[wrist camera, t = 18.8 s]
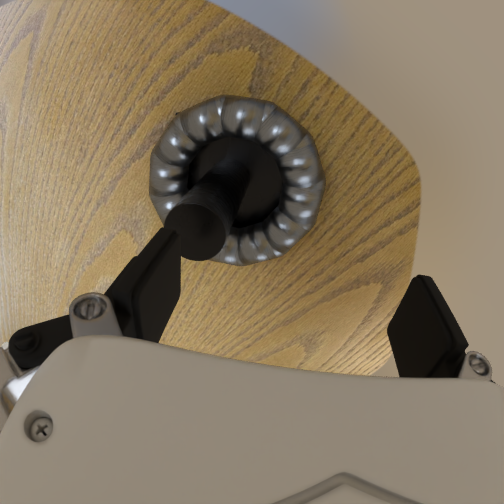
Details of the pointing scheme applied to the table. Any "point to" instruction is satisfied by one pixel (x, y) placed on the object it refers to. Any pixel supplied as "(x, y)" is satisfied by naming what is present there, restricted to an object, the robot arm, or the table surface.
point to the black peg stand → (224, 195)
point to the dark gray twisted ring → (266, 136)
